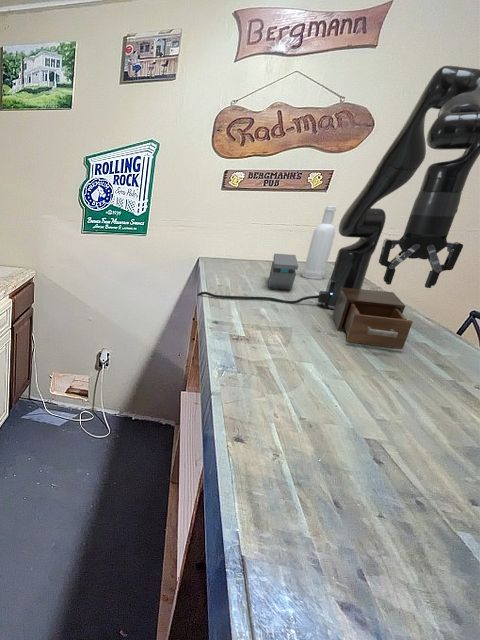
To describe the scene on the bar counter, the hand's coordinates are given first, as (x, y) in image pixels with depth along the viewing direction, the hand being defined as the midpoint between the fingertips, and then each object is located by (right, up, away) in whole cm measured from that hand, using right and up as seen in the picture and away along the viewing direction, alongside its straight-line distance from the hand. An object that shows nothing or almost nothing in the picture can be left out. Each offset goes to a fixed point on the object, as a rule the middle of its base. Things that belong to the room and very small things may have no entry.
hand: (407, 285), depth 109 cm
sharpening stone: (+19, +13, +80) cm, 84 cm away
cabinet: (+16, -7, +34) cm, 38 cm away
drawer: (+8, -12, +20) cm, 25 cm away
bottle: (+42, +19, +94) cm, 104 cm away
